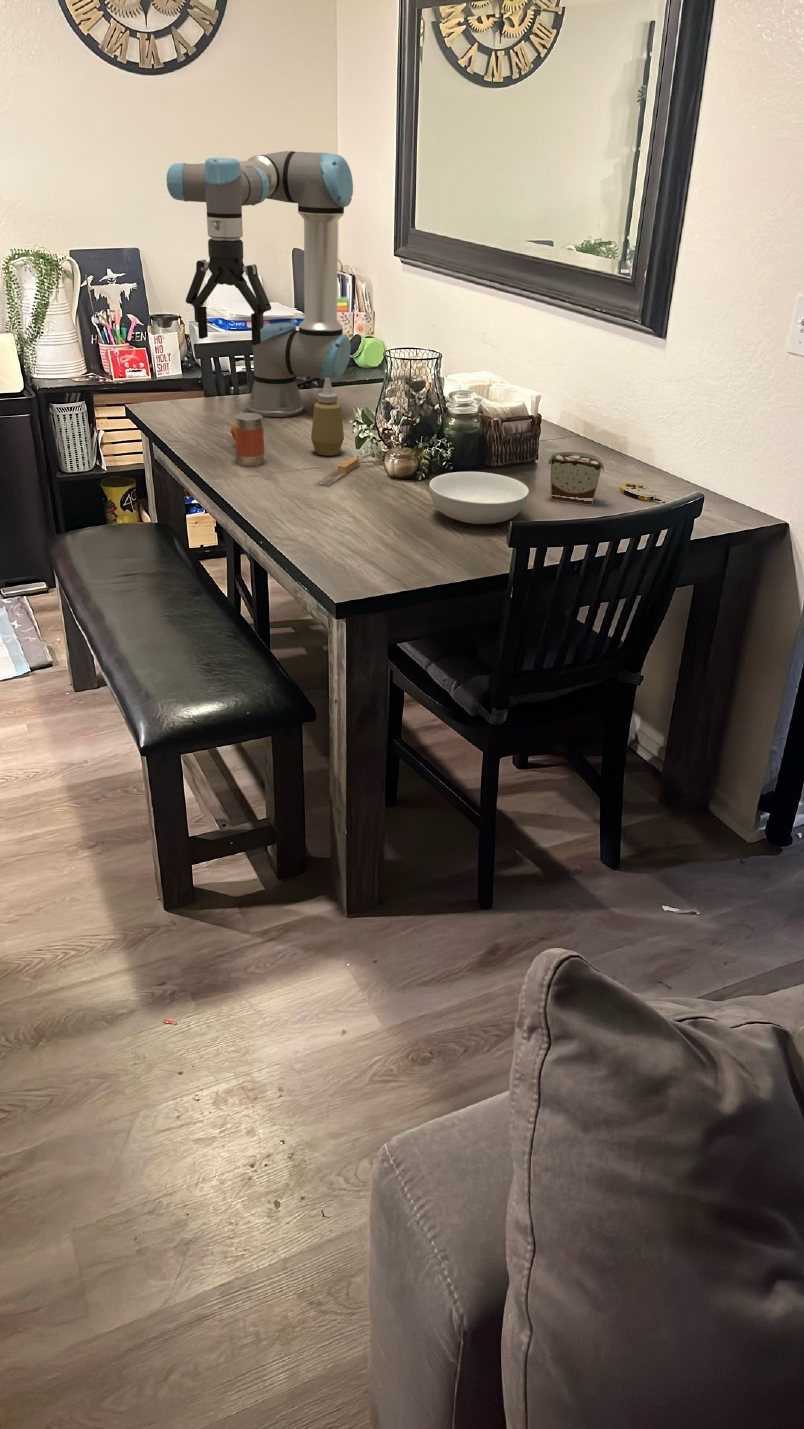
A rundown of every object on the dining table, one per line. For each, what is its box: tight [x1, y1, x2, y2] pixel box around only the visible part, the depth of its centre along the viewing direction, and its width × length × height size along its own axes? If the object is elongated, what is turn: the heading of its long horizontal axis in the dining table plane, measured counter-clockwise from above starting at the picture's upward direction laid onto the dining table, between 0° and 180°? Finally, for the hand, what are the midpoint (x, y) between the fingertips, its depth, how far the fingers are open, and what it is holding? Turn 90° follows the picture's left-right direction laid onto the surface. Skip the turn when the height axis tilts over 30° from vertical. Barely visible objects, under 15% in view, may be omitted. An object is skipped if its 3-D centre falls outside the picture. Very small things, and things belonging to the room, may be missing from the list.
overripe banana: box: [619, 482, 665, 504], centre depth 241 cm, size 5×2×15 cm
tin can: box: [233, 412, 265, 467], centre depth 252 cm, size 7×7×11 cm
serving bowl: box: [428, 471, 530, 525], centre depth 225 cm, size 21×21×7 cm
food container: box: [547, 451, 605, 507], centre depth 237 cm, size 12×6×10 cm, turn 71°
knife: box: [318, 456, 360, 487], centre depth 249 cm, size 18×2×2 cm, turn 159°
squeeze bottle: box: [310, 378, 345, 457], centre depth 260 cm, size 8×8×18 cm
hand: (229, 341), depth 241 cm, fingers open, 13 cm apart
